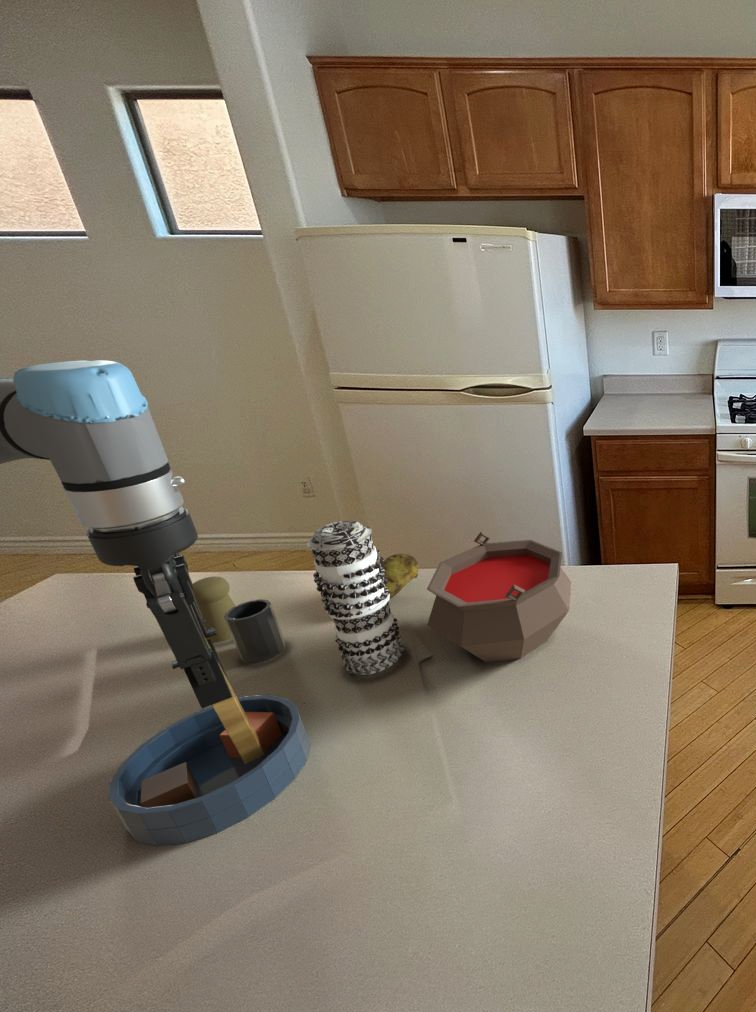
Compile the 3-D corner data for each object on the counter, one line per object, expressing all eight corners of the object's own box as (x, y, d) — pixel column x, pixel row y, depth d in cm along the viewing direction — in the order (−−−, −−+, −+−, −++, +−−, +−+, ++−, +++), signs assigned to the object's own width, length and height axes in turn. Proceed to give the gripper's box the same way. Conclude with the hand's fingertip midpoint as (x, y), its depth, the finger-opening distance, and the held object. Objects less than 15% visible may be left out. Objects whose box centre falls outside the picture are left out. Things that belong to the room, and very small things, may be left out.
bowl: (131, 779, 70) (111, 744, 68) (298, 708, 81) (286, 676, 79) (128, 884, 59) (105, 846, 56) (324, 784, 70) (311, 749, 68)
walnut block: (154, 804, 66) (140, 780, 65) (198, 784, 69) (186, 761, 67) (153, 827, 63) (140, 803, 62) (199, 806, 66) (187, 782, 64)
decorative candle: (413, 640, 96) (380, 511, 86) (401, 676, 88) (364, 537, 78) (353, 650, 94) (313, 517, 84) (336, 687, 85) (289, 546, 76)
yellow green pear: (345, 604, 106) (334, 568, 103) (414, 578, 115) (406, 544, 112) (361, 622, 101) (350, 584, 98) (432, 592, 110) (424, 557, 107)
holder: (240, 654, 92) (222, 609, 89) (283, 638, 96) (268, 595, 93) (244, 671, 88) (225, 625, 85) (289, 654, 92) (273, 610, 89)
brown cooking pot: (599, 648, 95) (592, 566, 89) (449, 705, 82) (428, 614, 76) (553, 585, 113) (544, 513, 107) (424, 624, 101) (405, 545, 94)
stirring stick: (243, 754, 70) (173, 630, 62) (262, 745, 72) (196, 621, 63) (245, 764, 69) (174, 638, 60) (264, 755, 70) (197, 629, 62)
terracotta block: (253, 733, 76) (244, 711, 75) (282, 734, 76) (273, 712, 74) (229, 757, 72) (219, 735, 71) (259, 758, 72) (249, 735, 71)
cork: (204, 650, 93) (180, 595, 89) (204, 633, 97) (181, 579, 93) (250, 635, 97) (229, 582, 92) (248, 619, 101) (227, 567, 97)
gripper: (190, 530, 54) (264, 714, 63) (183, 486, 64) (248, 650, 73) (77, 555, 49) (175, 750, 58) (89, 504, 59) (171, 677, 68)
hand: (215, 694), depth 66 cm, fingers closed on stirring stick, 2 cm apart
